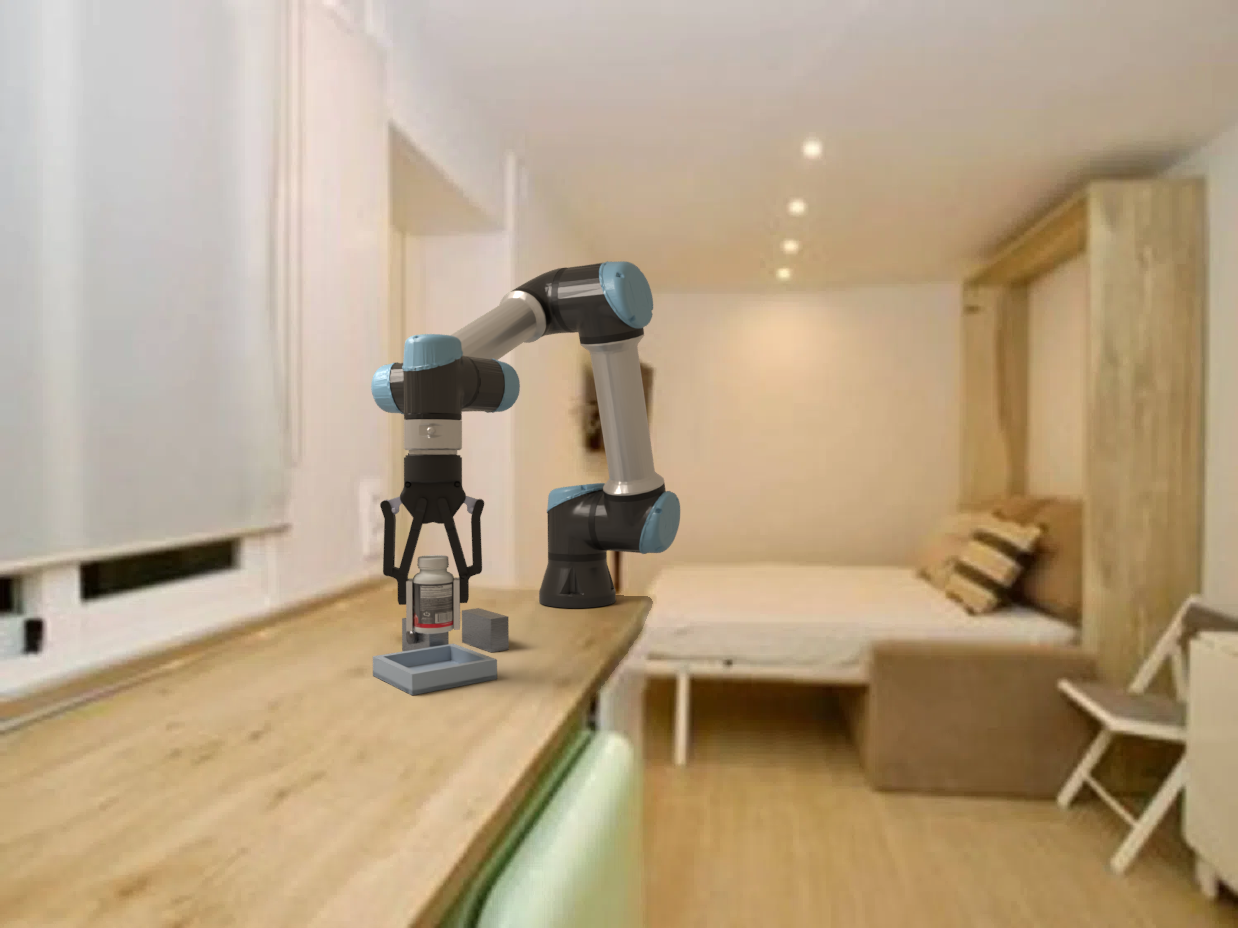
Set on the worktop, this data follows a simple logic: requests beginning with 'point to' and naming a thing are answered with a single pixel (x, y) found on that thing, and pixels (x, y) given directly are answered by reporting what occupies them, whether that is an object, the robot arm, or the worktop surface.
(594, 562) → the robot arm
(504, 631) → the grey twin blocks
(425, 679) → the tray
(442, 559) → the pill bottle
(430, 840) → the worktop surface
